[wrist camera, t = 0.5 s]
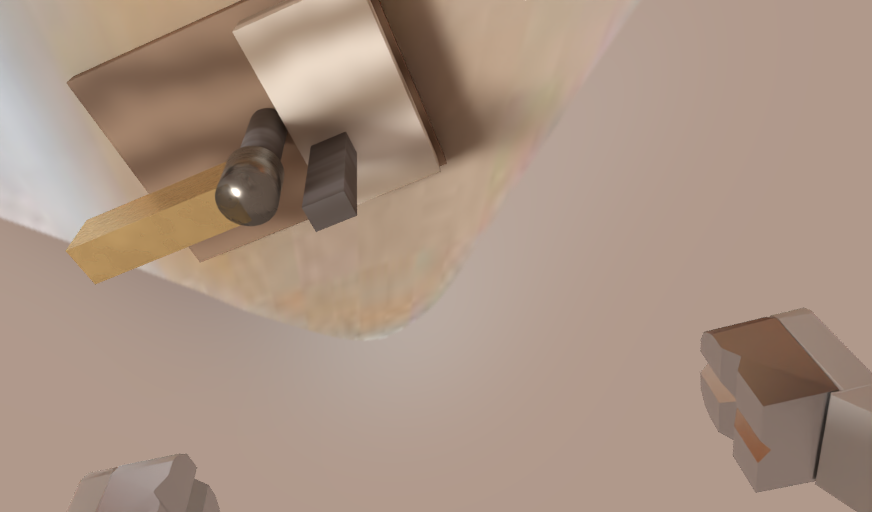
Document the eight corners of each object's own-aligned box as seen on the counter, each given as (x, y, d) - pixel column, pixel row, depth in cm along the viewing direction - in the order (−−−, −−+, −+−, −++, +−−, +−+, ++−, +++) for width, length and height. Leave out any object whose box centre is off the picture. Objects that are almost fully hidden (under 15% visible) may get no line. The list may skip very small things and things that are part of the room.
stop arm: (266, 136, 44) (259, 162, 40) (294, 185, 46) (289, 212, 43) (82, 214, 46) (60, 245, 42) (117, 257, 48) (99, 289, 44)
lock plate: (73, 76, 50) (-16, 154, 38) (356, -52, 47) (356, -12, 35) (203, 253, 60) (164, 359, 48) (444, 156, 57) (467, 243, 45)
